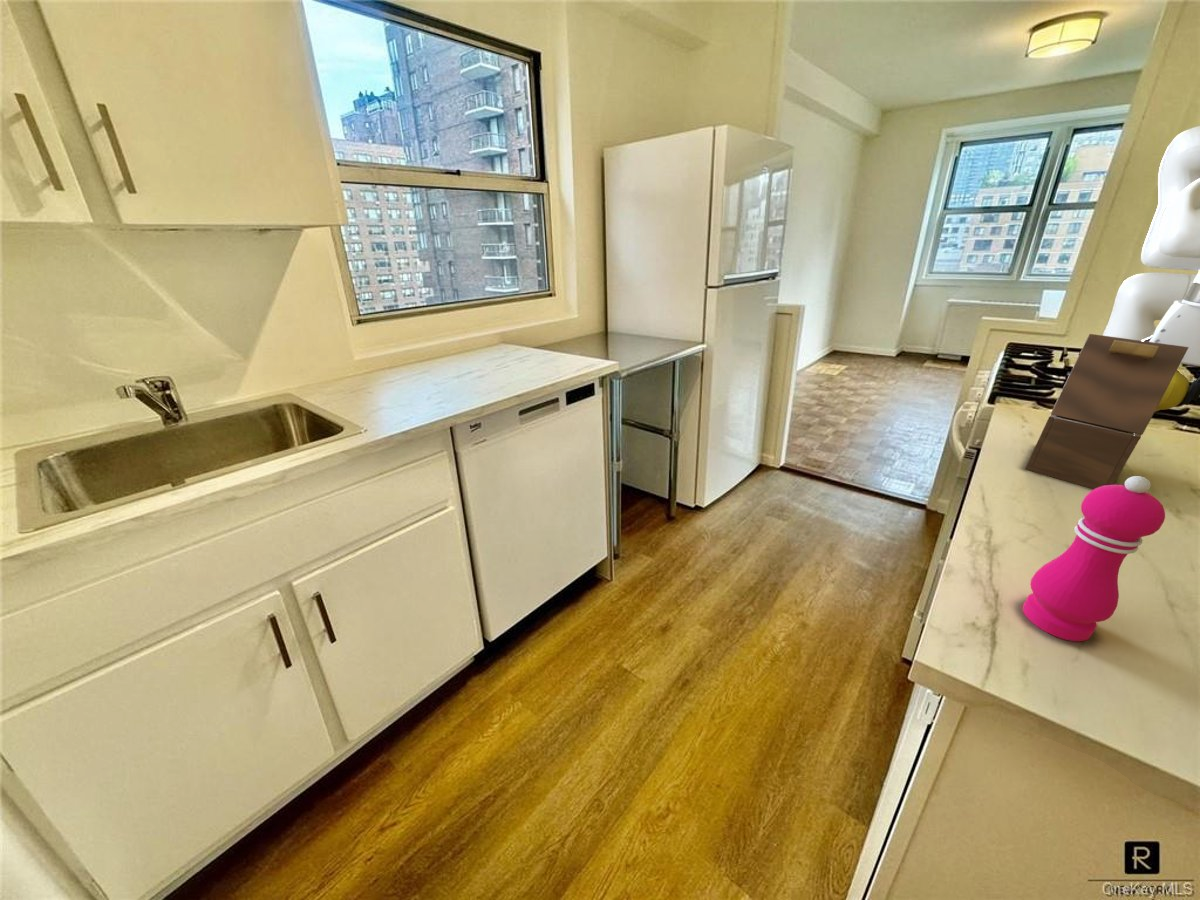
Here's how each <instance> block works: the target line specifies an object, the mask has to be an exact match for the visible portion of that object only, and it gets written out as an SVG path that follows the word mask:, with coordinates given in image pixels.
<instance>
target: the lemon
mask: <svg viewBox="0 0 1200 900" xmlns="http://www.w3.org/2000/svg"><path fill="white" fill-rule="evenodd" d="M1189 388H1190V380H1189V379H1188V378H1187V376H1185V375H1184V374H1183V373H1180V371H1179V370H1177V371H1176V372H1175V374H1174V376H1173V378H1172V380H1171V382H1170V384H1169V386H1168V388H1167V389H1166V391H1165V393H1164V395H1163V397H1162V399H1161V401H1160V403H1159V405H1158V406H1157V408H1156V410H1155V412H1154V413H1156V412H1159V411H1163V410H1165V411H1166V410H1170V409H1172V408H1175V407H1176V406H1179V405H1180V404H1181V403H1182V401H1183V400H1184V398H1185V397H1186V395H1187V394H1188V391H1189Z"/></svg>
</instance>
